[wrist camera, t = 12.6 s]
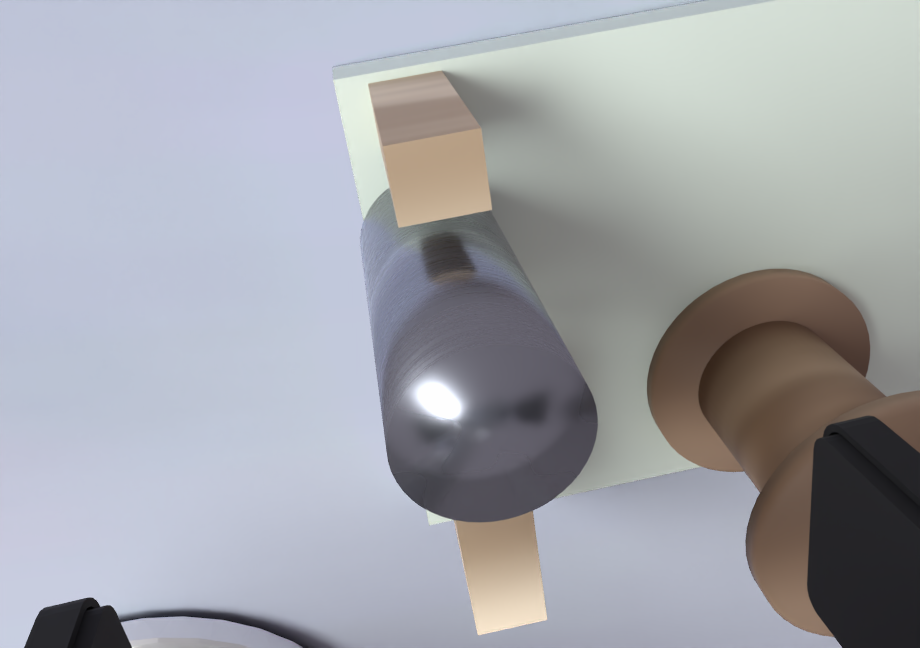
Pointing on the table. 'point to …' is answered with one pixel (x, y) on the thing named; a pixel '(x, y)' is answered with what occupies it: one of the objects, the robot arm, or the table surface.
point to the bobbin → (770, 406)
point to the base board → (688, 177)
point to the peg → (470, 370)
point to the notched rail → (435, 198)
